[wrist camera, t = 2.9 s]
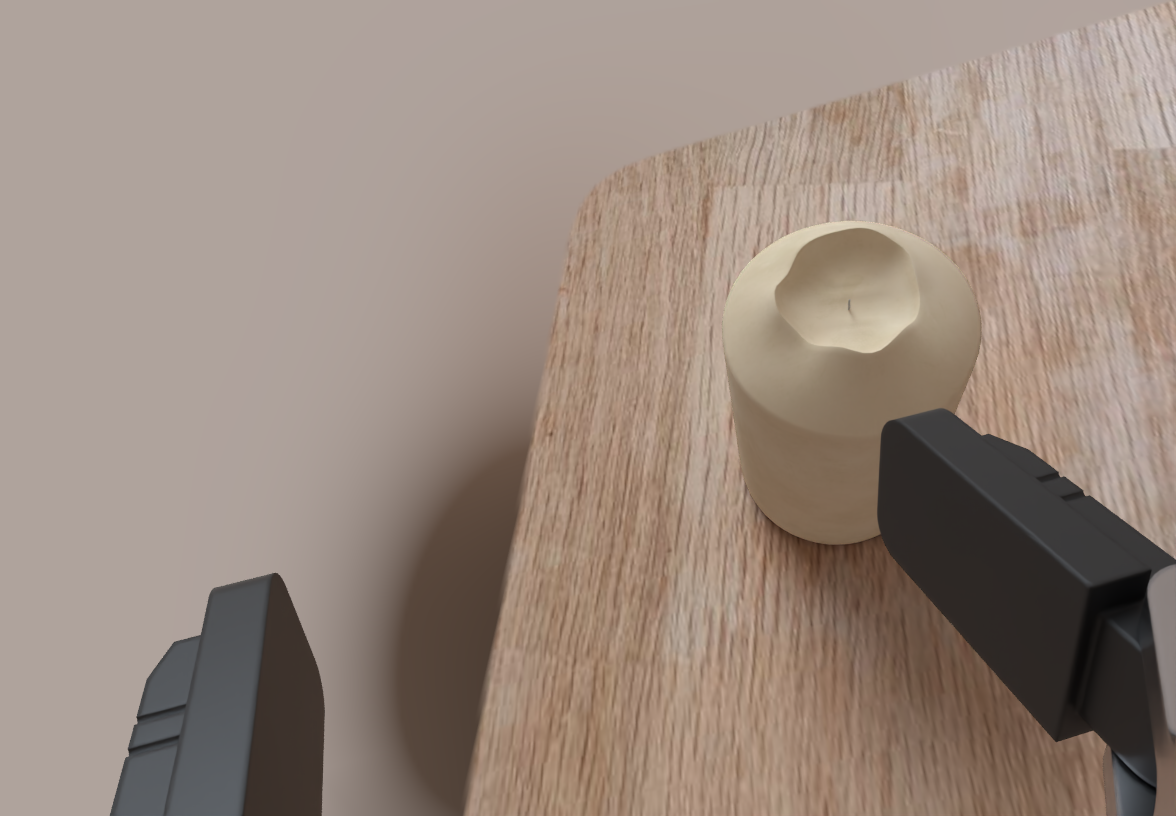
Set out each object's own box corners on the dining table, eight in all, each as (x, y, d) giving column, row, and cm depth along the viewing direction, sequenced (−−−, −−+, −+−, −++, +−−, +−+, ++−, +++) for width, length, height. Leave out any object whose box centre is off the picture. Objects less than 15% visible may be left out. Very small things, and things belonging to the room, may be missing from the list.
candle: (941, 540, 25) (1025, 394, 16) (749, 553, 26) (727, 422, 17) (909, 371, 27) (966, 162, 18) (733, 389, 28) (707, 198, 19)
